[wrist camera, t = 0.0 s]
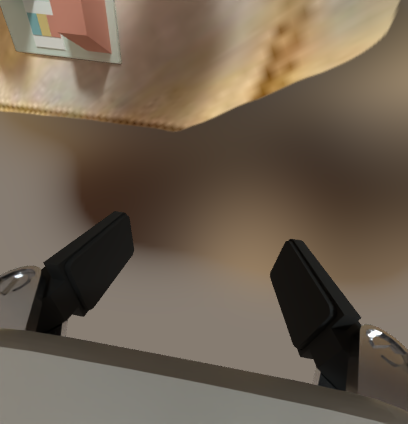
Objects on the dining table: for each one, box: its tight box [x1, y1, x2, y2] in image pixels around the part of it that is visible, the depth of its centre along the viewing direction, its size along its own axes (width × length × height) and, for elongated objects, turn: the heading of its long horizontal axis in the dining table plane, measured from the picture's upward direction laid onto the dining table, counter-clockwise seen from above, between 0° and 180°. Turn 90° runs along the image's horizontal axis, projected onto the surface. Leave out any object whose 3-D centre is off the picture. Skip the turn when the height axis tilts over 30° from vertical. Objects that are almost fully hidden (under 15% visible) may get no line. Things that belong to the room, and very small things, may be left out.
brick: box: [50, 0, 112, 54], centre depth 24 cm, size 8×5×6 cm, turn 173°
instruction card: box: [22, 0, 66, 50], centre depth 28 cm, size 6×6×1 cm
